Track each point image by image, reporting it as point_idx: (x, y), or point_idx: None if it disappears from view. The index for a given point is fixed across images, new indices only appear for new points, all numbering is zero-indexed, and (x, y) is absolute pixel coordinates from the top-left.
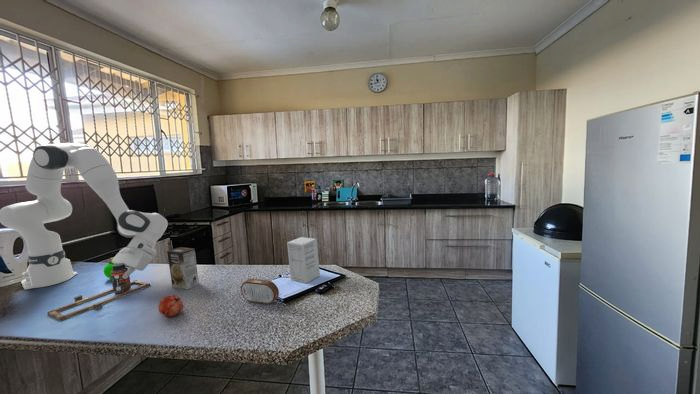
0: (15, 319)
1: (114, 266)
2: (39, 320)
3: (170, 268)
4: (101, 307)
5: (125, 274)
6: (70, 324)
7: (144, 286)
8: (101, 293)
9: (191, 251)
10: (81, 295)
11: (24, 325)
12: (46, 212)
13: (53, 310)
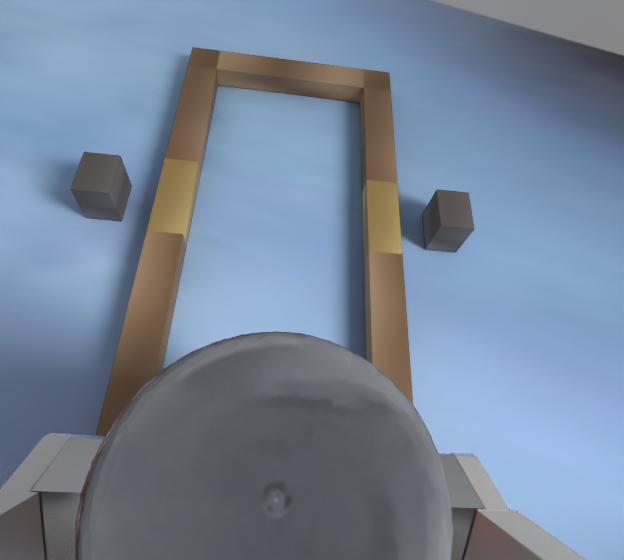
0: (487, 37)
1: (231, 340)
2: (340, 49)
3: None
4: (88, 210)
5: (11, 489)
6: (75, 52)
7: None
8: (378, 343)
9: None
10: (450, 225)
11: (349, 15)
12: None
13: (377, 88)
